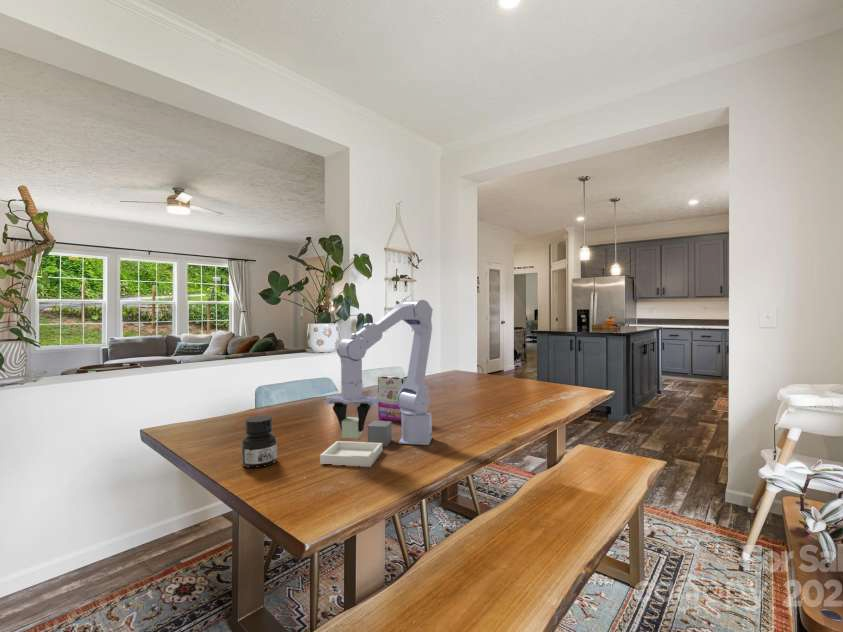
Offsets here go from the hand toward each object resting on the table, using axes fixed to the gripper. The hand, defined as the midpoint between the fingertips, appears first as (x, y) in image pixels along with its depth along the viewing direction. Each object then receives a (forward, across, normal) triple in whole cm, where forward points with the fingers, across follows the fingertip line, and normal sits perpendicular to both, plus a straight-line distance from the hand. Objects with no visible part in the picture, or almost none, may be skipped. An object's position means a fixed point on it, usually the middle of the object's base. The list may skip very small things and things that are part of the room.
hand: (352, 430), depth 115 cm
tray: (+8, 0, 0) cm, 8 cm away
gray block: (+8, +4, +14) cm, 17 cm away
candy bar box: (+8, +2, +41) cm, 42 cm away
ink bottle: (+8, -24, -7) cm, 26 cm away
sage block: (+2, 0, 0) cm, 2 cm away
